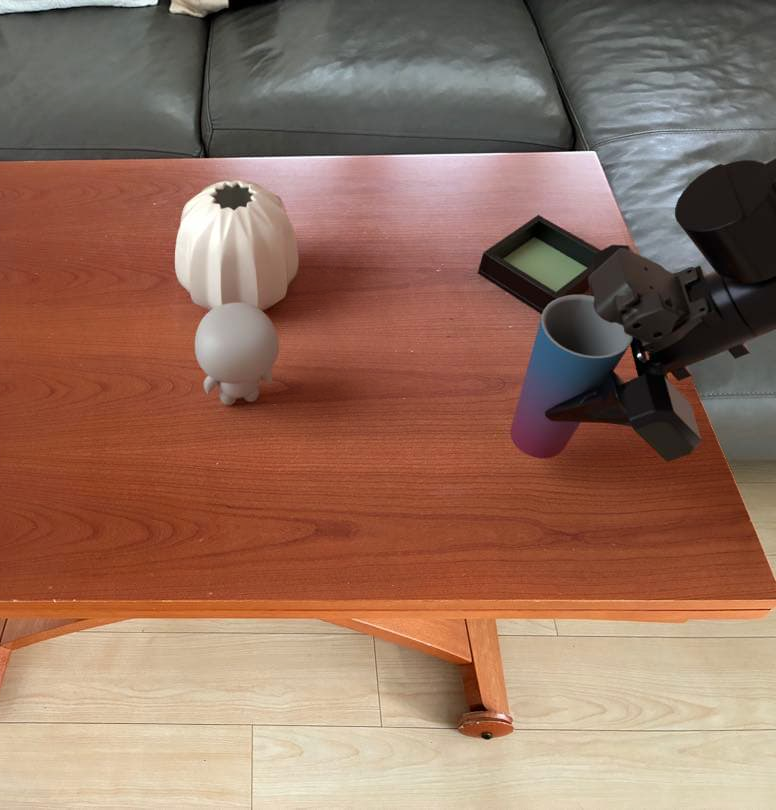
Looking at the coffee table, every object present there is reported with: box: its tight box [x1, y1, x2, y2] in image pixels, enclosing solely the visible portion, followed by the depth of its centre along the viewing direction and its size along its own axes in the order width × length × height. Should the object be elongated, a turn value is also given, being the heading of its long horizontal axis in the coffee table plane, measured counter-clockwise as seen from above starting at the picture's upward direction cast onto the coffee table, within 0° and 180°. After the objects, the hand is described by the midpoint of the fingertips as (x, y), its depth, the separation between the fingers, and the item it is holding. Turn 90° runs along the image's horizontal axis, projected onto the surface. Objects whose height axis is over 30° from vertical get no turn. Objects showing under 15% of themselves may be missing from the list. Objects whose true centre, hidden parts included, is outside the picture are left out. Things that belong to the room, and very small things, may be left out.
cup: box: [509, 294, 633, 459], centre depth 66 cm, size 7×7×15 cm
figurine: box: [194, 303, 280, 406], centre depth 76 cm, size 8×8×12 cm
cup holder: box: [477, 214, 602, 315], centre depth 89 cm, size 10×10×3 cm
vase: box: [174, 179, 300, 312], centre depth 86 cm, size 14×14×13 cm
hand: (542, 387), depth 66 cm, fingers closed on cup, 6 cm apart
